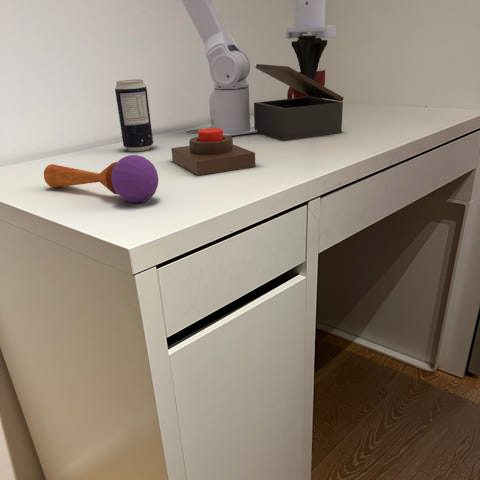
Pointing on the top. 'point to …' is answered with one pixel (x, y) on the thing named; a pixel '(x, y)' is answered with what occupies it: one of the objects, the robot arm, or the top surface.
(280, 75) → the brown box lid
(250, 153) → the panel
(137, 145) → the beverage can
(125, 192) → the purple maraca
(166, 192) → the top surface
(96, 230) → the top surface
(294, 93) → the mug
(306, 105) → the dark gray box
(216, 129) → the button
